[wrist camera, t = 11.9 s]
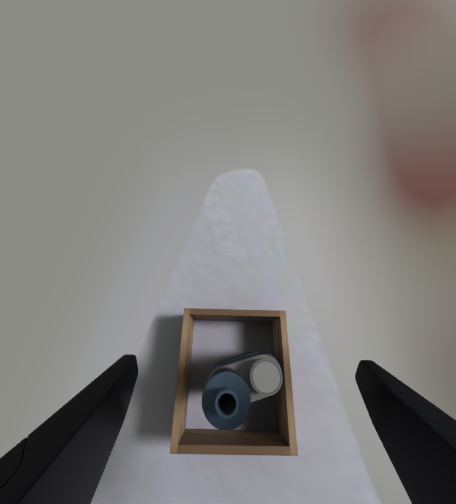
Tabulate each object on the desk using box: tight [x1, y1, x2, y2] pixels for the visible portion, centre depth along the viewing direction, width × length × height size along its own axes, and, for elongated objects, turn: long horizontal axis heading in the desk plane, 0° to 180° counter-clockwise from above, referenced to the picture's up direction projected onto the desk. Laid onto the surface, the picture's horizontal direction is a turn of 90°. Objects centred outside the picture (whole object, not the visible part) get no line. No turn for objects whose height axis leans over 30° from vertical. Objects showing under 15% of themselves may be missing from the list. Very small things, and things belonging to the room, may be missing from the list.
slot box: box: [170, 308, 298, 456], centre depth 19 cm, size 10×9×4 cm
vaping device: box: [202, 352, 282, 430], centre depth 15 cm, size 3×5×12 cm, turn 105°
